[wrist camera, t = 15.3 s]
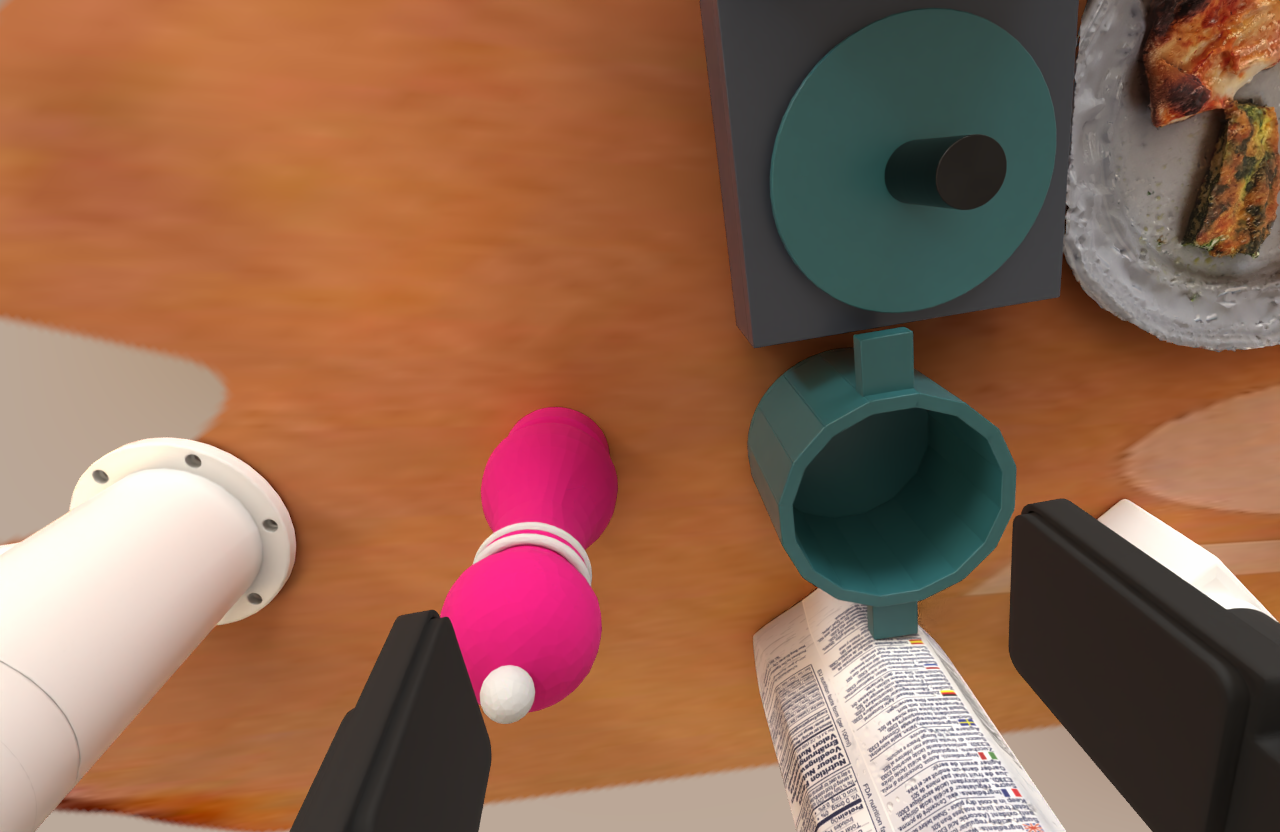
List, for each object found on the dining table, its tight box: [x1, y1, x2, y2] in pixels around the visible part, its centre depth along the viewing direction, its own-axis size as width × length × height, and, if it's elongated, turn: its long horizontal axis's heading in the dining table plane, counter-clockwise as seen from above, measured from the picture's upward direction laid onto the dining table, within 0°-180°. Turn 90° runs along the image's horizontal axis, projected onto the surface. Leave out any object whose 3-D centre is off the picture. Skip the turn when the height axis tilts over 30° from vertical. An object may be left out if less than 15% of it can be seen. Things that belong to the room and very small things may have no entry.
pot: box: [748, 327, 1016, 640], centre depth 36 cm, size 11×17×8 cm
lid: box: [770, 8, 1056, 313], centre depth 27 cm, size 12×12×6 cm
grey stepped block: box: [700, 0, 1079, 348], centre depth 26 cm, size 15×26×13 cm, turn 9°
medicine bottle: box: [1097, 499, 1280, 646], centre depth 38 cm, size 7×7×12 cm
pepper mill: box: [440, 407, 618, 724], centre depth 30 cm, size 7×7×20 cm
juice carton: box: [753, 588, 1066, 832], centre depth 32 cm, size 9×10×27 cm
